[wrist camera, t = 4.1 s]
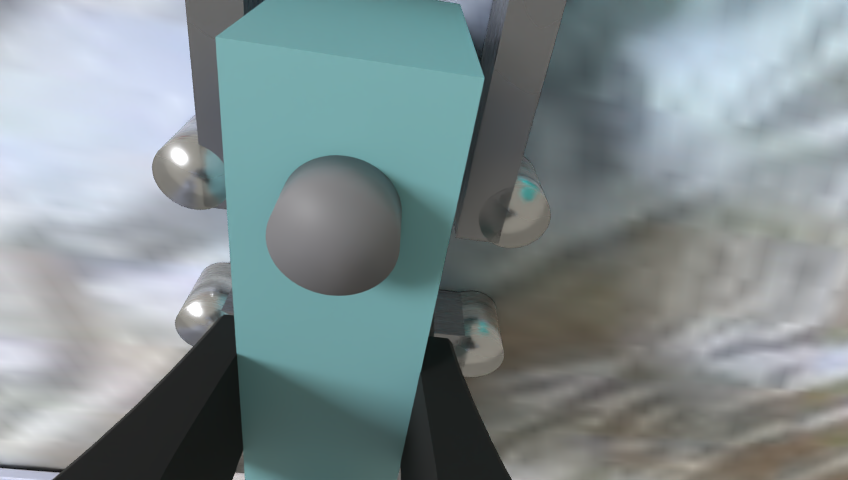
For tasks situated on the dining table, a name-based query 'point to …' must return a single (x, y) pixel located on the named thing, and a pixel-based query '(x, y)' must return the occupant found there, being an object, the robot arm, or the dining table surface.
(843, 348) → the dining table surface
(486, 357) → the chain end
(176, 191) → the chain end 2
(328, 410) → the teal studded beam
